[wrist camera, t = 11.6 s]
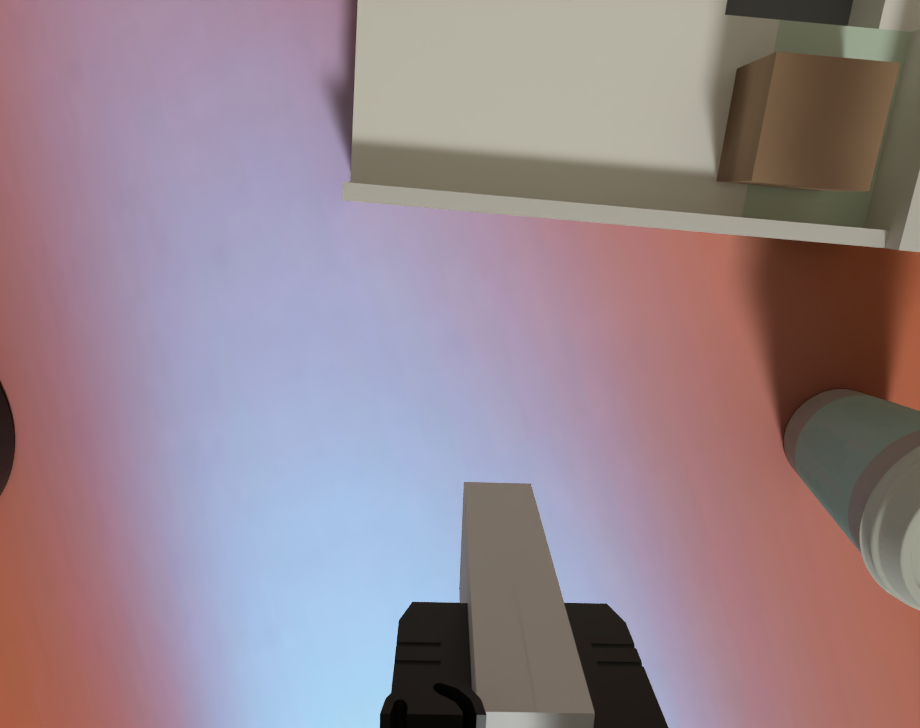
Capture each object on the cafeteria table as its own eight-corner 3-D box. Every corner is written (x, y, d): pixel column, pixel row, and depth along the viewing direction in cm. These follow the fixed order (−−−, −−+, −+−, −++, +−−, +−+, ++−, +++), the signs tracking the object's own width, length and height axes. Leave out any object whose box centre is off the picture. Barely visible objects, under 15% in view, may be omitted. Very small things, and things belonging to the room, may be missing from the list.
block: (716, 181, 31) (751, 180, 27) (737, 68, 30) (776, 51, 26) (819, 190, 31) (869, 191, 28) (844, 78, 30) (900, 62, 26)
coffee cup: (782, 523, 39) (914, 663, 28) (740, 399, 37) (863, 495, 26) (924, 472, 38) (1121, 595, 27) (889, 341, 36) (1086, 414, 25)
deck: (359, 198, 35) (338, 200, 29) (377, -208, 30) (355, -302, 24) (845, 241, 35) (921, 252, 29) (939, -153, 30) (1051, -234, 24)
